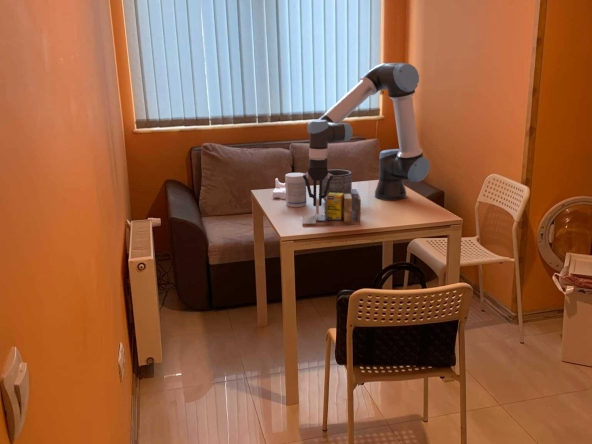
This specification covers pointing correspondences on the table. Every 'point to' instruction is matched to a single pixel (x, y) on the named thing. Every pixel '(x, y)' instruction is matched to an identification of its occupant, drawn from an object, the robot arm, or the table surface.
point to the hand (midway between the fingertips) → (317, 213)
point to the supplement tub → (295, 190)
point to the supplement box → (335, 206)
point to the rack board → (331, 223)
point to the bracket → (279, 190)
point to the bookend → (322, 217)
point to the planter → (338, 182)
